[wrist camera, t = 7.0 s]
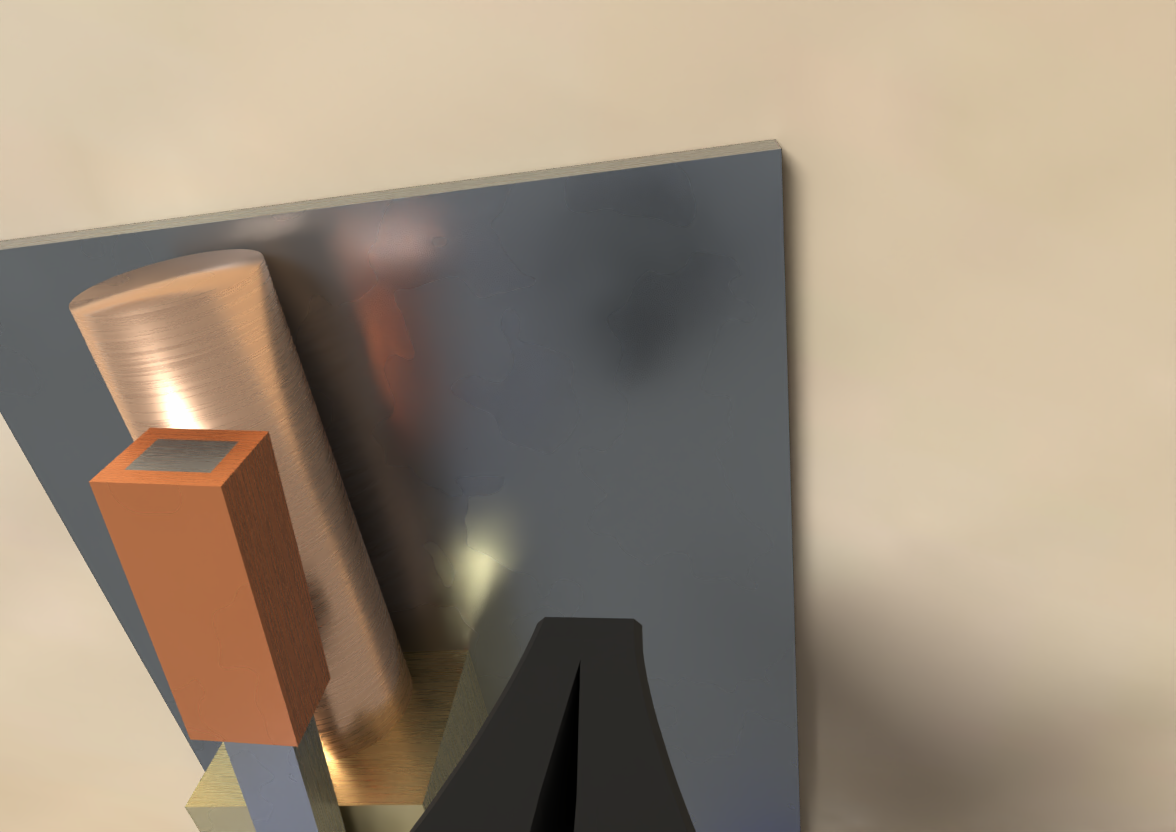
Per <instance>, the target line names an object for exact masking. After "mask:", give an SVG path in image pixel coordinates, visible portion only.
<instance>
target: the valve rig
mask: <svg viewBox="0 0 1176 832" xmlns="http://www.w3.org/2000/svg"><path fill="white" fill-rule="evenodd" d="M0 412H1V414H2V416H3V418H4V419H5V421H6V423H7V425H8V426H9V428H10V430H11V432H12V433H13V435H14V437H15V439H16V440H17V442H18V444H19V446H20V447H21V449H22V451H23V453H24V454H25V456H26V458H27V460H28V462H29V463H30V465H31V467H32V469H33V470H34V472H35V474H36V476H37V477H38V479H39V481H40V483H41V484H42V486H43V488H44V490H45V491H46V493H47V495H48V497H49V498H50V500H51V502H52V504H53V505H54V507H55V509H56V511H57V512H58V514H59V516H60V518H61V519H62V521H63V523H64V525H65V526H66V528H67V530H68V532H69V534H70V535H71V537H72V539H73V541H74V542H75V544H76V546H77V548H78V549H79V551H80V553H81V555H82V556H83V558H84V560H85V562H86V563H87V565H88V567H89V569H90V570H91V572H92V574H93V576H94V577H95V579H96V581H97V583H98V584H99V586H100V588H101V590H102V591H103V593H104V595H105V597H106V598H107V600H108V602H109V604H110V606H111V607H112V609H113V611H114V613H115V614H116V616H117V618H118V620H119V621H120V623H121V625H122V627H123V628H124V630H125V632H126V634H127V635H128V637H129V639H130V641H131V642H132V644H133V646H134V648H135V649H136V651H137V653H138V655H139V656H140V658H141V660H142V662H143V663H144V665H145V667H146V669H147V670H148V672H149V674H150V676H151V678H152V679H153V681H154V683H155V685H156V686H157V688H158V690H159V692H160V693H161V695H162V697H163V699H164V700H165V702H166V704H167V706H168V707H169V709H170V711H171V713H172V714H173V716H174V718H175V720H176V721H177V723H178V725H179V727H180V728H181V730H182V732H183V734H184V735H185V737H186V739H187V741H188V742H189V744H190V746H191V748H192V750H193V751H194V753H195V755H196V757H197V758H198V760H199V762H200V764H201V765H202V767H203V769H204V771H205V773H204V775H203V777H202V779H201V780H200V782H199V784H198V786H197V787H196V789H195V791H194V792H193V794H192V796H191V798H190V799H189V801H188V803H187V805H186V806H185V808H186V809H187V811H188V813H189V814H190V816H191V818H192V819H193V821H194V823H195V824H196V826H197V828H198V829H199V831H200V832H256V830H255V827H254V825H253V822H252V819H251V816H250V814H249V811H248V808H247V805H246V803H245V800H244V797H243V794H242V792H241V789H240V786H239V783H238V781H237V778H236V775H235V772H234V770H233V767H232V764H231V761H230V759H229V756H228V753H227V750H226V748H225V745H224V742H220V741H206V740H191V739H190V737H189V735H188V732H187V730H186V727H185V725H184V722H183V720H182V717H181V714H180V712H179V709H178V707H177V704H176V702H175V699H174V697H173V694H172V692H171V689H170V687H169V684H168V681H167V679H166V676H165V674H164V671H163V669H162V666H161V664H160V661H159V659H158V656H157V653H156V651H155V648H154V646H153V643H152V641H151V638H150V636H149V633H148V631H147V628H146V626H145V623H144V620H143V618H142V615H141V613H140V610H139V608H138V605H137V603H136V600H135V598H134V595H133V592H132V590H131V587H130V585H129V582H128V580H127V577H126V575H125V572H124V570H123V567H122V565H121V562H120V559H119V557H118V554H117V552H116V549H115V547H114V544H113V542H112V539H111V537H110V534H109V532H108V529H107V526H106V524H105V521H104V519H103V516H102V514H101V511H100V509H99V506H98V504H97V501H96V498H95V496H94V493H93V491H92V488H91V486H90V483H89V481H90V480H91V479H92V478H94V477H95V476H96V475H97V474H98V473H99V472H100V471H101V470H103V469H104V468H105V467H106V466H107V465H108V464H109V463H110V462H112V461H113V460H114V459H115V458H116V457H117V456H118V455H120V454H121V453H122V452H123V451H124V450H125V449H126V448H127V447H129V446H130V445H131V444H132V443H133V442H134V441H135V440H137V439H138V438H139V437H140V436H141V435H142V434H143V433H144V432H146V431H147V430H148V429H149V428H179V429H211V430H243V431H269V434H270V438H271V442H272V446H273V450H274V454H275V458H276V462H277V466H278V470H279V474H280V478H281V482H282V486H283V490H284V494H285V498H286V502H287V506H288V510H289V514H290V518H291V522H292V526H293V530H294V534H295V538H296V542H297V546H298V550H299V554H300V558H301V562H302V566H303V570H304V574H305V578H306V582H307V586H308V590H309V594H310V598H311V602H312V606H313V610H314V614H315V618H316V622H317V626H318V630H319V634H320V638H321V642H322V646H323V650H324V654H325V658H326V662H327V666H328V670H329V674H330V678H331V679H330V681H329V683H328V685H327V687H326V689H325V691H324V693H323V695H322V698H321V700H320V702H319V704H318V706H317V708H316V710H315V712H314V718H315V721H316V725H317V728H318V732H319V736H320V739H321V743H322V747H323V750H324V754H325V758H326V761H327V765H328V769H329V772H330V776H331V780H332V783H333V787H334V791H335V794H336V798H337V801H338V805H339V809H340V812H341V816H342V820H343V823H344V827H345V831H346V832H409V831H410V830H411V829H412V827H413V826H414V825H415V823H416V822H417V821H418V819H419V818H420V817H421V815H422V814H423V813H424V811H425V810H426V809H427V807H428V806H429V805H430V803H431V802H432V800H433V799H434V797H435V796H436V794H437V793H438V792H439V790H440V789H441V787H442V786H443V784H444V783H445V781H446V780H447V779H448V777H449V776H450V774H451V773H452V771H453V770H454V768H455V767H456V765H457V764H458V763H459V761H460V760H461V758H462V757H463V755H464V754H465V752H466V751H467V749H468V748H469V746H470V745H471V743H472V741H473V740H474V738H475V737H476V735H477V733H478V732H479V730H480V728H481V727H482V725H483V723H484V722H485V720H486V719H487V717H488V715H489V714H490V712H491V710H492V709H493V707H494V705H495V704H496V702H497V701H498V699H499V697H500V695H501V694H502V692H503V690H504V688H505V687H506V685H507V683H508V681H509V679H510V678H511V676H512V674H513V672H514V670H515V668H516V667H517V665H518V663H519V661H520V659H521V657H522V655H523V653H524V651H525V649H526V647H527V645H528V643H529V641H530V639H531V637H532V634H533V632H534V630H535V628H536V625H537V623H538V622H539V621H541V620H542V619H543V618H544V617H579V618H631V619H635V620H636V621H638V622H639V623H640V624H641V625H642V632H643V655H644V662H645V668H646V674H647V679H648V683H649V688H650V692H651V697H652V701H653V705H654V709H655V713H656V716H657V720H658V724H659V727H660V730H661V733H662V737H663V740H664V743H665V746H666V750H667V753H668V756H669V759H670V763H671V766H672V768H673V771H674V774H675V777H676V780H677V783H678V786H679V789H680V791H681V794H682V797H683V799H684V802H685V805H686V807H687V810H688V812H689V815H690V818H691V820H692V823H693V826H694V828H695V831H696V832H800V801H799V765H798V729H797V693H796V657H795V621H794V586H793V550H792V514H791V478H790V442H789V406H788V370H787V334H786V298H785V263H784V227H783V191H782V155H781V147H780V146H779V144H778V142H777V141H776V139H774V140H767V141H759V142H751V143H744V144H736V145H729V146H721V147H713V148H706V149H698V150H691V151H683V152H675V153H668V154H660V155H652V156H645V157H637V158H630V159H622V160H614V161H607V162H599V163H592V164H584V165H576V166H569V167H561V168H553V169H546V170H538V171H531V172H523V173H515V174H508V175H500V176H493V177H485V178H477V179H470V180H462V181H454V182H447V183H439V184H432V185H424V186H416V187H409V188H401V189H393V190H386V191H378V192H371V193H363V194H355V195H348V196H340V197H333V198H325V199H317V200H310V201H302V202H294V203H287V204H279V205H272V206H264V207H256V208H249V209H241V210H234V211H226V212H218V213H211V214H203V215H195V216H188V217H180V218H173V219H165V220H157V221H150V222H142V223H134V224H127V225H119V226H112V227H104V228H96V229H89V230H81V231H74V232H66V233H58V234H51V235H43V236H35V237H28V238H20V239H13V240H5V241H0Z"/></svg>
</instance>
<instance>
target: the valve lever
mask: <svg viewBox="0 0 1176 832" xmlns="http://www.w3.org/2000/svg"><path fill="white" fill-rule="evenodd" d="M89 483H90V486H91V488H92V491H93V493H94V496H95V498H96V501H97V504H98V506H99V509H100V511H101V514H102V516H103V519H104V521H105V524H106V526H107V529H108V532H109V534H110V537H111V539H112V542H113V544H114V547H115V549H116V552H117V554H118V557H119V559H120V562H121V565H122V567H123V570H124V572H125V575H126V577H127V580H128V582H129V585H130V587H131V590H132V592H133V595H134V598H135V600H136V603H137V605H138V608H139V610H140V613H141V615H142V618H143V620H144V623H145V626H146V628H147V631H148V633H149V636H150V638H151V641H152V643H153V646H154V648H155V651H156V653H157V656H158V659H159V661H160V664H161V666H162V669H163V671H164V674H165V676H166V679H167V681H168V684H169V687H170V689H171V692H172V694H173V697H174V699H175V702H176V704H177V707H178V709H179V712H180V714H181V717H182V720H183V722H184V725H185V727H186V730H187V732H188V735H189V737H190V739H191V740H206V741H220V742H224V745H225V748H226V750H227V753H228V756H229V759H230V761H231V764H232V767H233V770H234V772H235V775H236V778H237V781H238V783H239V786H240V789H241V792H242V794H243V797H244V800H245V803H246V805H247V808H248V811H249V814H250V816H251V819H252V822H253V825H254V827H255V830H256V832H346V831H345V827H344V823H343V820H342V816H341V812H340V809H339V805H338V801H337V798H336V794H335V791H334V787H333V783H332V780H331V776H330V772H329V769H328V765H327V761H326V758H325V754H324V750H323V747H322V743H321V739H320V736H319V732H318V728H317V725H316V721H315V718H314V712H315V710H316V708H317V706H318V704H319V702H320V700H321V698H322V695H323V693H324V691H325V689H326V687H327V685H328V683H329V681H330V679H331V678H330V674H329V670H328V666H327V662H326V658H325V654H324V650H323V646H322V642H321V638H320V634H319V630H318V626H317V622H316V618H315V614H314V610H313V606H312V602H311V598H310V594H309V590H308V586H307V582H306V578H305V574H304V570H303V566H302V562H301V558H300V554H299V550H298V546H297V542H296V538H295V534H294V530H293V526H292V522H291V518H290V514H289V510H288V506H287V502H286V498H285V494H284V490H283V486H282V482H281V478H280V474H279V470H278V466H277V462H276V458H275V454H274V450H273V446H272V442H271V438H270V434H269V431H243V430H211V429H179V428H149V429H148V430H147V431H146V432H144V433H143V434H142V435H141V436H140V437H139V438H138V439H137V440H135V441H134V442H133V443H132V444H131V445H130V446H129V447H127V448H126V449H125V450H124V451H123V452H122V453H121V454H120V455H118V456H117V457H116V458H115V459H114V460H113V461H112V462H110V463H109V464H108V465H107V466H106V467H105V468H104V469H103V470H101V471H100V472H99V473H98V474H97V475H96V476H95V477H94V478H92V479H91V480H90V481H89Z"/></svg>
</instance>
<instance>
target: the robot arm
mask: <svg viewBox="0 0 1176 832" xmlns="http://www.w3.org/2000/svg"><path fill="white" fill-rule="evenodd" d="M409 832H696V831H695V828H694V826H693V823H692V820H691V818H690V815H689V812H688V810H687V807H686V805H685V802H684V799H683V797H682V794H681V791H680V789H679V786H678V783H677V780H676V777H675V774H674V771H673V768H672V766H671V763H670V759H669V756H668V753H667V750H666V746H665V743H664V740H663V737H662V733H661V730H660V727H659V724H658V720H657V716H656V713H655V709H654V705H653V701H652V697H651V692H650V688H649V683H648V679H647V674H646V668H645V662H644V655H643V632H642V625H641V624H640V623H639V622H638V621H636V620H635V619H631V618H579V617H544V618H543V619H542V620H541V621H539V622H538V623H537V625H536V628H535V630H534V632H533V634H532V637H531V639H530V641H529V643H528V645H527V647H526V649H525V651H524V653H523V655H522V657H521V659H520V661H519V663H518V665H517V667H516V668H515V670H514V672H513V674H512V676H511V678H510V679H509V681H508V683H507V685H506V687H505V688H504V690H503V692H502V694H501V695H500V697H499V699H498V701H497V702H496V704H495V705H494V707H493V709H492V710H491V712H490V714H489V715H488V717H487V719H486V720H485V722H484V723H483V725H482V727H481V728H480V730H479V732H478V733H477V735H476V737H475V738H474V740H473V741H472V743H471V745H470V746H469V748H468V749H467V751H466V752H465V754H464V755H463V757H462V758H461V760H460V761H459V763H458V764H457V765H456V767H455V768H454V770H453V771H452V773H451V774H450V776H449V777H448V779H447V780H446V781H445V783H444V784H443V786H442V787H441V789H440V790H439V792H438V793H437V794H436V796H435V797H434V799H433V800H432V802H431V803H430V805H429V806H428V807H427V809H426V810H425V811H424V813H423V814H422V815H421V817H420V818H419V819H418V821H417V822H416V823H415V825H414V826H413V827H412V829H411V830H410V831H409Z"/></svg>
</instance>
